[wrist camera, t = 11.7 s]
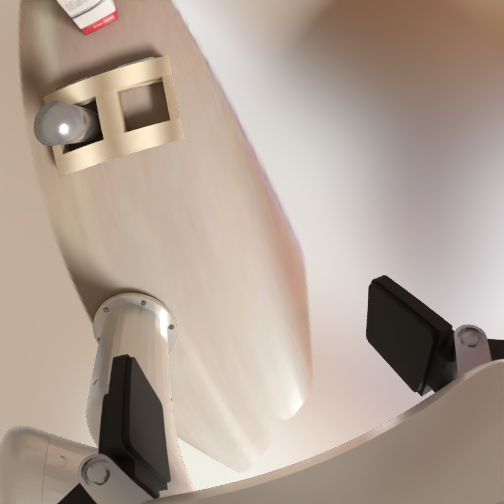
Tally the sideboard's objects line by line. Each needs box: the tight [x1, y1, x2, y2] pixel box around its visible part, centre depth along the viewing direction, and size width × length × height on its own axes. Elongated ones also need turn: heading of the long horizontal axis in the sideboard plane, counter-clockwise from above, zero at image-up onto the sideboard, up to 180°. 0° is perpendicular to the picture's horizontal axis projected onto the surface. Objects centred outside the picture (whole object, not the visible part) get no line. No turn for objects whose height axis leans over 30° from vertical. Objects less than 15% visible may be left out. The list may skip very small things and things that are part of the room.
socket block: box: [43, 55, 185, 177], centre depth 28 cm, size 15×10×3 cm
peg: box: [34, 101, 101, 146], centre depth 24 cm, size 4×4×11 cm
